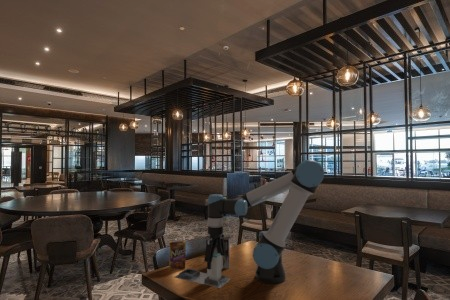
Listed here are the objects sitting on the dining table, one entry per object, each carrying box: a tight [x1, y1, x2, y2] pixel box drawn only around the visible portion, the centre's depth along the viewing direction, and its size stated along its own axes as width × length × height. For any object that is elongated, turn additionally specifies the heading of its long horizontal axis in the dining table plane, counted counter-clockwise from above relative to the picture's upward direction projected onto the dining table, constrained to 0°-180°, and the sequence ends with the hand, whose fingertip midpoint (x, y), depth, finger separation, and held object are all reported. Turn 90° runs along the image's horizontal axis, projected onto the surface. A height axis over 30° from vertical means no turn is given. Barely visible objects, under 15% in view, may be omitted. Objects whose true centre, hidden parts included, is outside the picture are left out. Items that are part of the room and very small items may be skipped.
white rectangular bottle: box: [209, 252, 222, 281], centre depth 139 cm, size 5×4×13 cm
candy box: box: [168, 239, 187, 271], centre depth 155 cm, size 9×4×15 cm, turn 98°
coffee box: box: [214, 236, 231, 270], centre depth 159 cm, size 9×6×16 cm
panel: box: [174, 268, 231, 290], centre depth 142 cm, size 26×12×2 cm, turn 63°
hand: (215, 271), depth 139 cm, fingers open, 9 cm apart
